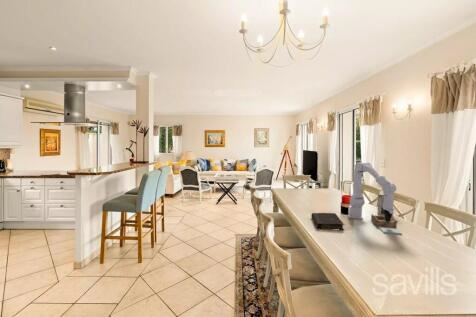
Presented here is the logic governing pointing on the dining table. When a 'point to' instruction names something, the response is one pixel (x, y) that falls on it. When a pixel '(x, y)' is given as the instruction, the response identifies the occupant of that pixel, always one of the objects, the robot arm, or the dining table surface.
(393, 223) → the wooden box
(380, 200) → the coffee box
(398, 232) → the cover plate
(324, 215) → the diary
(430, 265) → the dining table surface
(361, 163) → the robot arm
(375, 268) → the dining table surface
